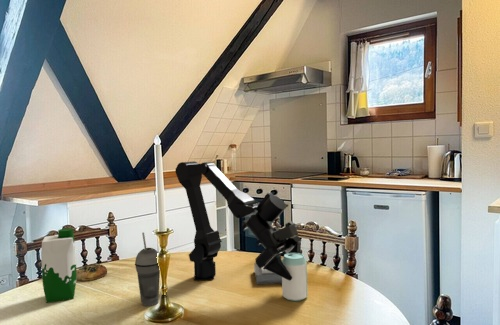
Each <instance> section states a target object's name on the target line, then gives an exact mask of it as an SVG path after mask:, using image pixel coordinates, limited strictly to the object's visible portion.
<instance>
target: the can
mask: <svg viewBox="0 0 500 325" xmlns="http://www.w3.org/2000/svg"><path fill="white" fill-rule="evenodd" d="M300 253H301V252H300ZM300 253H287V254H283V258H282V259H283V260H282V263H283V264H284V266H285V267H286V269H287V270H288V272H289V273H290V275H291V276H292V279H291V280H290V281H289V280H287V279H285V278H283V277H282V283H281V285H282V286H281V288H282V294H281V295H282V297H283V298H284V299H286V300H288V301H292V302H300V301H303V300H304V299H306V298H307V297H308V265H307V264H308V263H307V260H306V258H305V255H304V254H303V253H301V254H300Z"/></svg>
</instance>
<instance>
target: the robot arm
mask: <svg viewBox="0 0 500 325" xmlns="http://www.w3.org/2000/svg"><path fill="white" fill-rule="evenodd" d="M175 175H176V177H177V181H178V183H179V184H180V185H181V186H182V187H183V188H184V190H185V193H186V196H187V201H188V204H189V207H190V213H191V216H192V219H193V223H194V228H195V234H194V239H193V244H194V248H192V251H191V252H190V253H189V254H188V258H189V262H192V263H193V264H194V265H193V266H194V268H193V269H194V278H193V281H209V280H211V281H213V280H214V279H215V277H216V271H217V270H216V269H217V268H216V261H214V258H217V257H218V254H219V251H220V250H221V246H222V245H221V243H222V242H223V241H222V240H221V238H220V232H219V230H214V229H213V228H212V226H211V223H210V220H209V216H208V212H207V211H208V210H207V208H206V204H205V200H204V197H203V193H202V192H203V191H202V188H201V183H202V179H203V176H204V177H205V178H206V179H207V181H208V182H209V183H210V184H211V185H212V186H213V187H214V188H215V189H216V190H217V191H218V192H219V193H220V195H222V197H223V198H224V200H225V201H226V203H227V207H228V210H230V212H231V214H232V215H233V216H234V217H235V218H237V219H244V218H247V217H248V219H245V220H242V221H241V222H242V223H241V231H245V230H246V231H247V230H248V229H249V231H250V232H251V233H252V234H253V236H254V237H255V238H256V239H257V241H256V244H257V245H258V246H260V245H261V246H262V247H263V248H264V249H263V250H262V251H261V252H260V254H258V255H257V256H256V257H255V263H256V265H257V266H258V267H259V269H260V268H262V267H264V266H265V265H266V266H265V267H264V268H263V269H264V270H265V269H266V270H269V271H271V272H273V273H275V274H277V275H279V276H281V277H283V278H285V279H287V280H289V281H290V280H291V279H292V276H291V275H290V273H289V272H288V270H287V269H286V267H285V266H284V264H283V263H282V261H281V259H282V254H283V255H285V254H287V253H300V254H302V253H301V251H300V250H301V249H300V248H301V245H302V243H301V242H302V239H301V238H300V236H298V235H299V233H298V228H299V226H298V225H296V223H295V222H294V221H292V220H291V221H289V222H287V223H285V227H282V228H281V229H280V228H279V227H277V226H274V227H273V226H272V225H271V223H273V222H275V220H277V218H278V217H279V216H280V215H282V213H283V212H284V211H285V210H286V209H287V205H286V203H285V202H284V200H283V199H282V198H280V197H279V196H277V195H275V194H273V193H272V192H267V193H266V195H264V197H263V199H261V201H256V199H254V198H253V197H251V196H250V195H249V194H247V193H246V192H244V191H241V190H239V189H238V188H237V187H236V186H235V185H234V184H233V183H232V182H231V181H230V180H229V179H228V177H227V176H225V174H224V173H223V172H222V171H221V170H220V169H219V168H218V167H217V165H216V164H215V163H214V162H213V161H212V162H211V161H206V162H201V163H198V162H197V161H182V162H179V163H178V164H177V165H176V168H175ZM269 222H270V223H269Z"/></svg>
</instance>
